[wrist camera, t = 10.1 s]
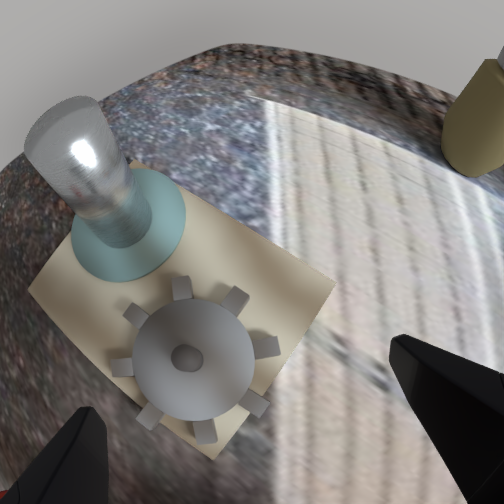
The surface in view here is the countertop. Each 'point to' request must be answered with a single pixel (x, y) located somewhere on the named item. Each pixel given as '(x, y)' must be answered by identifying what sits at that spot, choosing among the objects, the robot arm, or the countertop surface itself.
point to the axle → (89, 171)
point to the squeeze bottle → (477, 122)
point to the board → (183, 312)
